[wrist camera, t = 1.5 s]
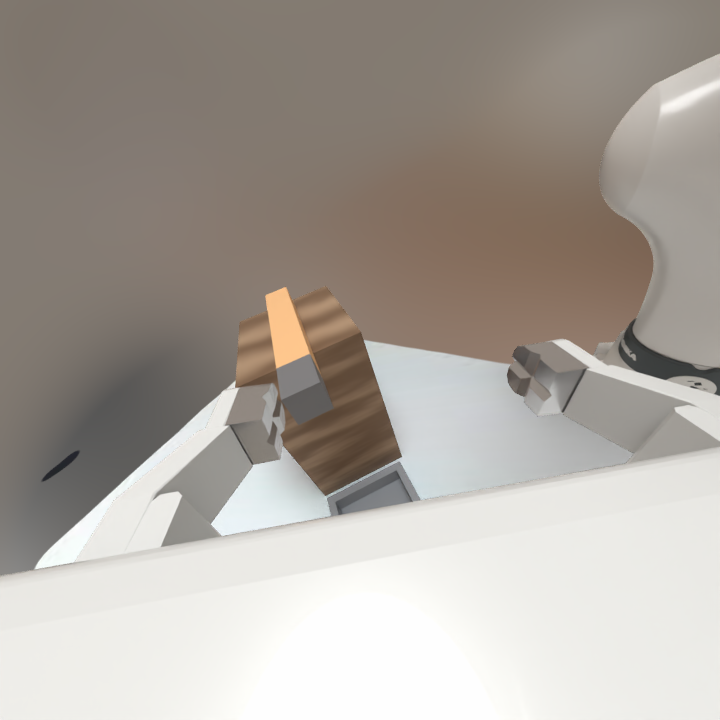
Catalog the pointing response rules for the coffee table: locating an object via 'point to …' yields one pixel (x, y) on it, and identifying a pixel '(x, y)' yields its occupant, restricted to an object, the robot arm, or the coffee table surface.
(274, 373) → the stand
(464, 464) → the coffee table surface
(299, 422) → the marker
